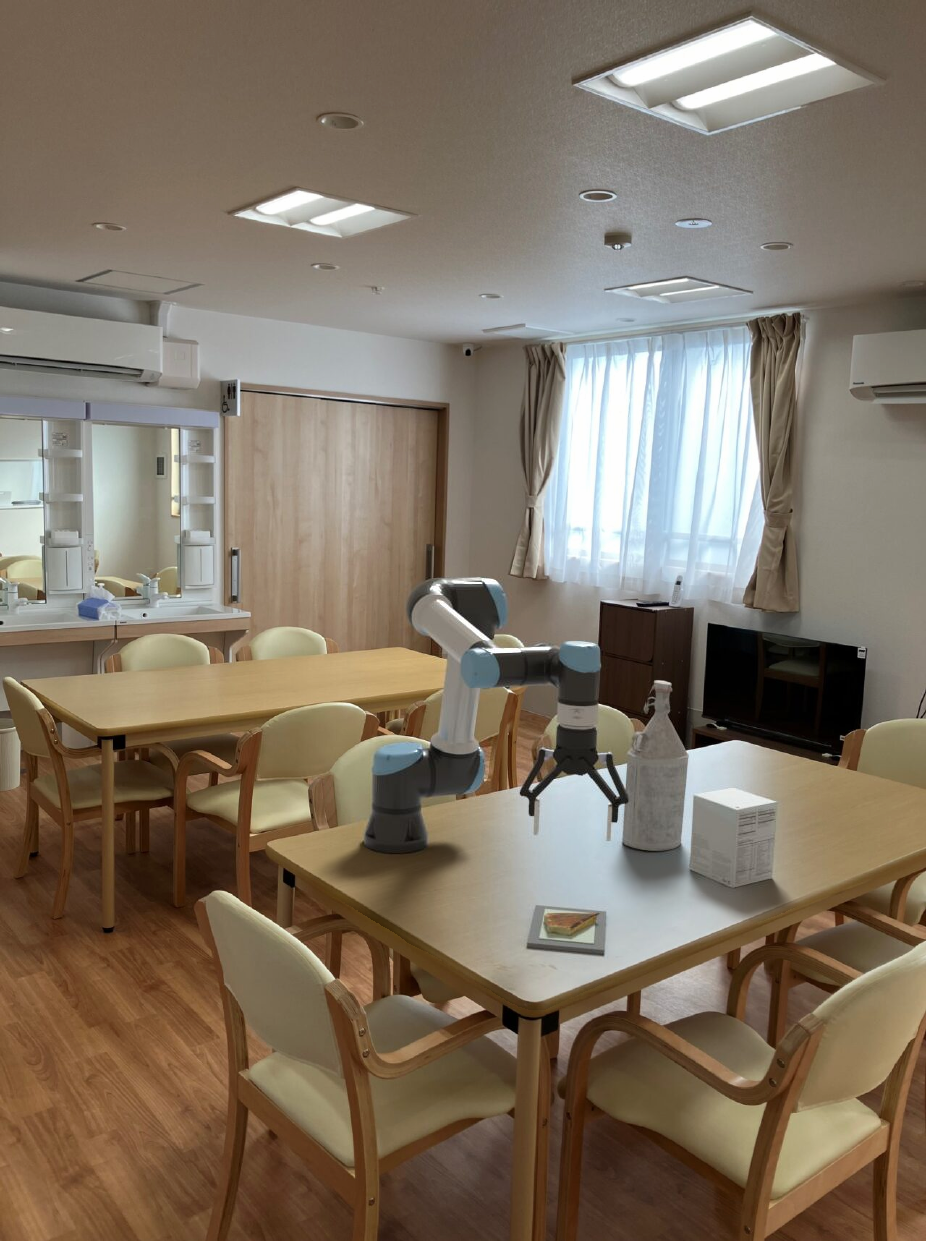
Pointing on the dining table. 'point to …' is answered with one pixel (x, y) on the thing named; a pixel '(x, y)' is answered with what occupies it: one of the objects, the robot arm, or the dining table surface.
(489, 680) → the robot arm
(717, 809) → the supplement box
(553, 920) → the shard
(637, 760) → the grey stoneware bottle
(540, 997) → the dining table surface
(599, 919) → the mat
